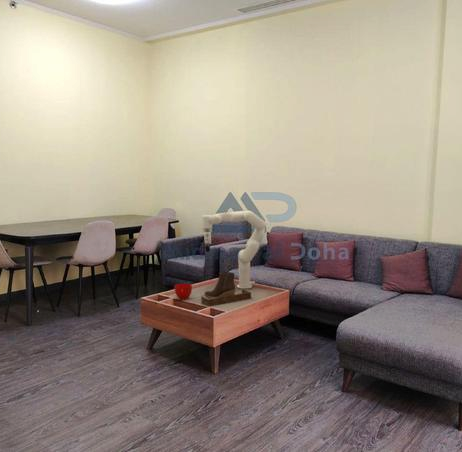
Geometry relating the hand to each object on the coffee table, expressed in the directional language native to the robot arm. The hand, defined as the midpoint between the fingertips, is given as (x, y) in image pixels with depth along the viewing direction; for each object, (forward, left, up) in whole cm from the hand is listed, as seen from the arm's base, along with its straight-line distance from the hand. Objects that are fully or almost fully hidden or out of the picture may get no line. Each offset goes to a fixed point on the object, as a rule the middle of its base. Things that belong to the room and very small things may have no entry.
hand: (207, 250), depth 371 cm
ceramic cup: (+30, +17, -32) cm, 47 cm away
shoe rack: (+5, +39, -32) cm, 51 cm away
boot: (+5, +29, -32) cm, 43 cm away
